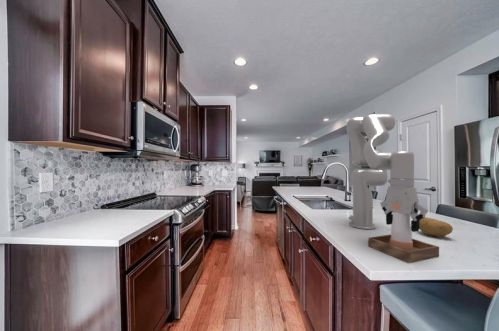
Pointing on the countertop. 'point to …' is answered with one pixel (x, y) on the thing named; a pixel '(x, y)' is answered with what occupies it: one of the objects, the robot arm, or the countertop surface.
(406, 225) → the pepper shaker
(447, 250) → the countertop surface
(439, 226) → the potato
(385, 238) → the walnut tray
